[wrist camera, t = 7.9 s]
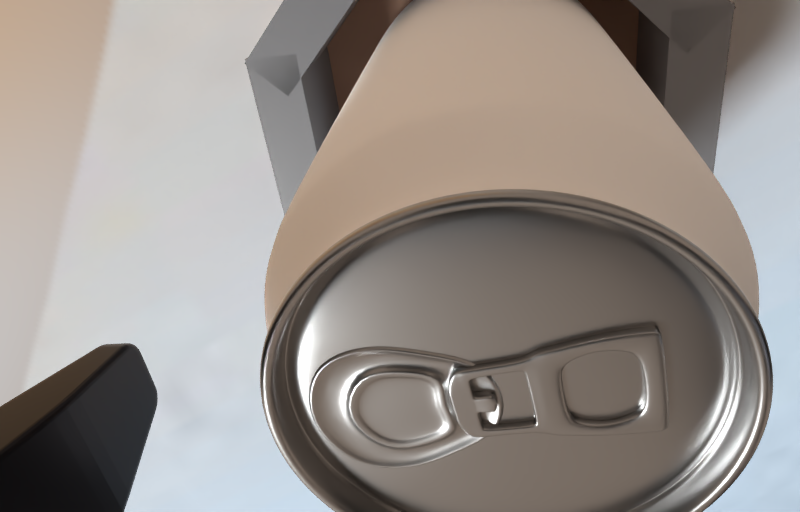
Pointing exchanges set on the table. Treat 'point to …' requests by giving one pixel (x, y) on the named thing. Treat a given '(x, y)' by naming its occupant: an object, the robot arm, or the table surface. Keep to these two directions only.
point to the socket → (381, 3)
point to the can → (511, 283)
